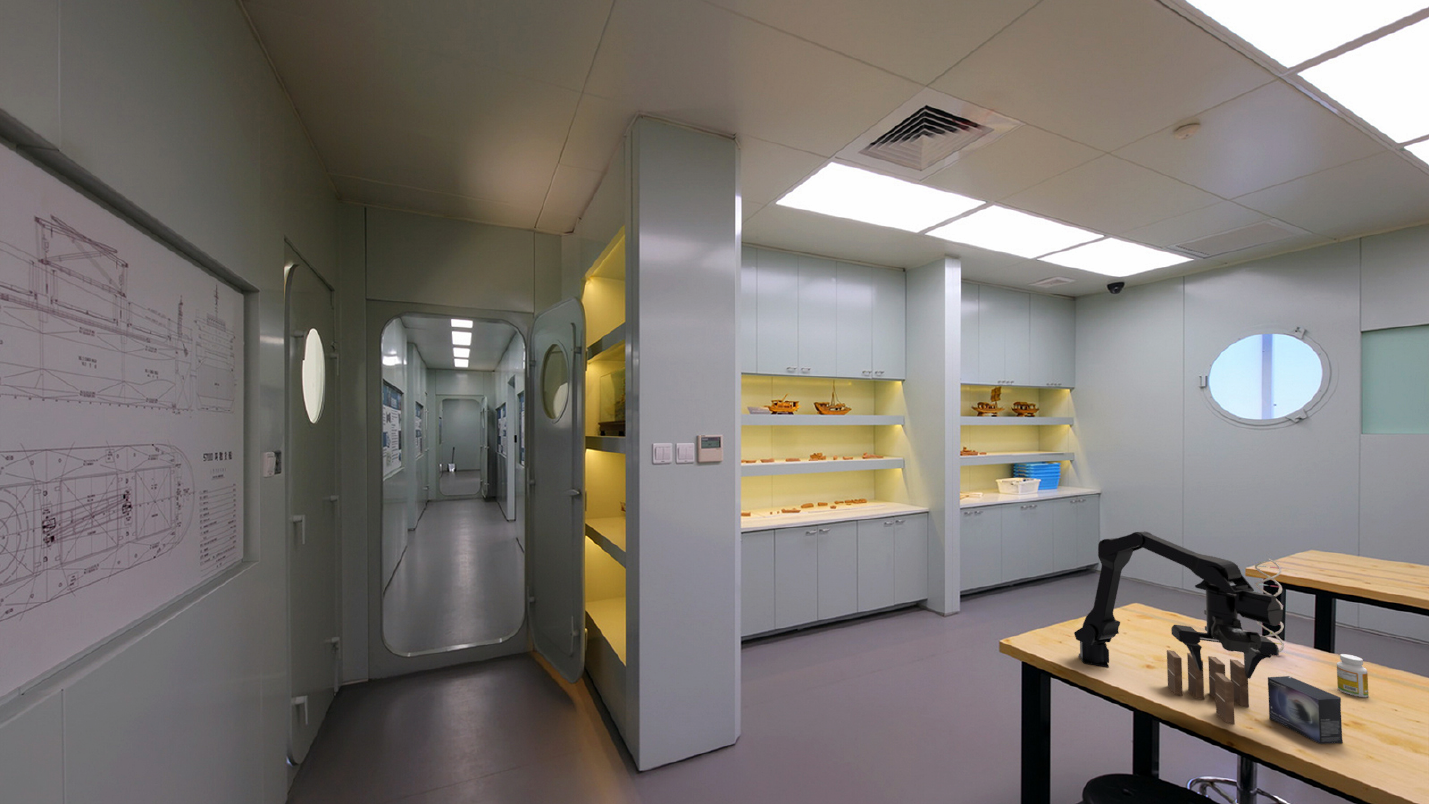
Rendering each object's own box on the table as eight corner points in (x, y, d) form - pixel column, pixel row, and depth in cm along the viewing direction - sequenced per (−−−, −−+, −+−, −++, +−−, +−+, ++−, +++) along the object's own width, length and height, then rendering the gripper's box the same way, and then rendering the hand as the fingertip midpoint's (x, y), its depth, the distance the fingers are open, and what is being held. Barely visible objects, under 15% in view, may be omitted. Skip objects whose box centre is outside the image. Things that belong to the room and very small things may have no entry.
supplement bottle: (1357, 690, 144) (1356, 654, 145) (1374, 699, 139) (1373, 662, 140) (1332, 686, 146) (1330, 651, 147) (1347, 695, 141) (1346, 659, 141)
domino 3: (1218, 702, 137) (1216, 663, 137) (1209, 693, 142) (1208, 655, 142) (1226, 703, 136) (1225, 664, 137) (1217, 694, 141) (1215, 657, 141)
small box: (1266, 718, 129) (1265, 675, 130) (1290, 717, 130) (1288, 675, 130) (1319, 744, 119) (1317, 698, 119) (1344, 743, 119) (1342, 697, 120)
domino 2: (1196, 698, 139) (1195, 660, 139) (1188, 689, 143) (1187, 652, 144) (1204, 699, 138) (1203, 661, 139) (1195, 690, 143) (1194, 654, 143)
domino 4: (1226, 722, 127) (1224, 681, 128) (1216, 712, 132) (1214, 672, 132) (1234, 724, 127) (1233, 682, 127) (1224, 714, 131) (1223, 673, 132)
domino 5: (1240, 705, 135) (1239, 666, 136) (1231, 696, 140) (1229, 659, 140) (1249, 707, 135) (1247, 668, 135) (1239, 698, 139) (1237, 660, 140)
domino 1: (1175, 694, 141) (1173, 657, 141) (1167, 686, 145) (1166, 649, 146) (1182, 695, 140) (1181, 658, 140) (1175, 687, 145) (1174, 650, 145)
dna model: (1284, 659, 163) (1281, 563, 165) (1255, 652, 168) (1252, 558, 170) (1286, 653, 167) (1283, 559, 169) (1258, 646, 172) (1254, 555, 174)
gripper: (1188, 615, 127) (1189, 680, 126) (1291, 628, 119) (1294, 697, 119) (1169, 601, 137) (1171, 661, 136) (1264, 612, 130) (1266, 676, 129)
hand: (1223, 674), depth 130 cm, fingers open, 9 cm apart
